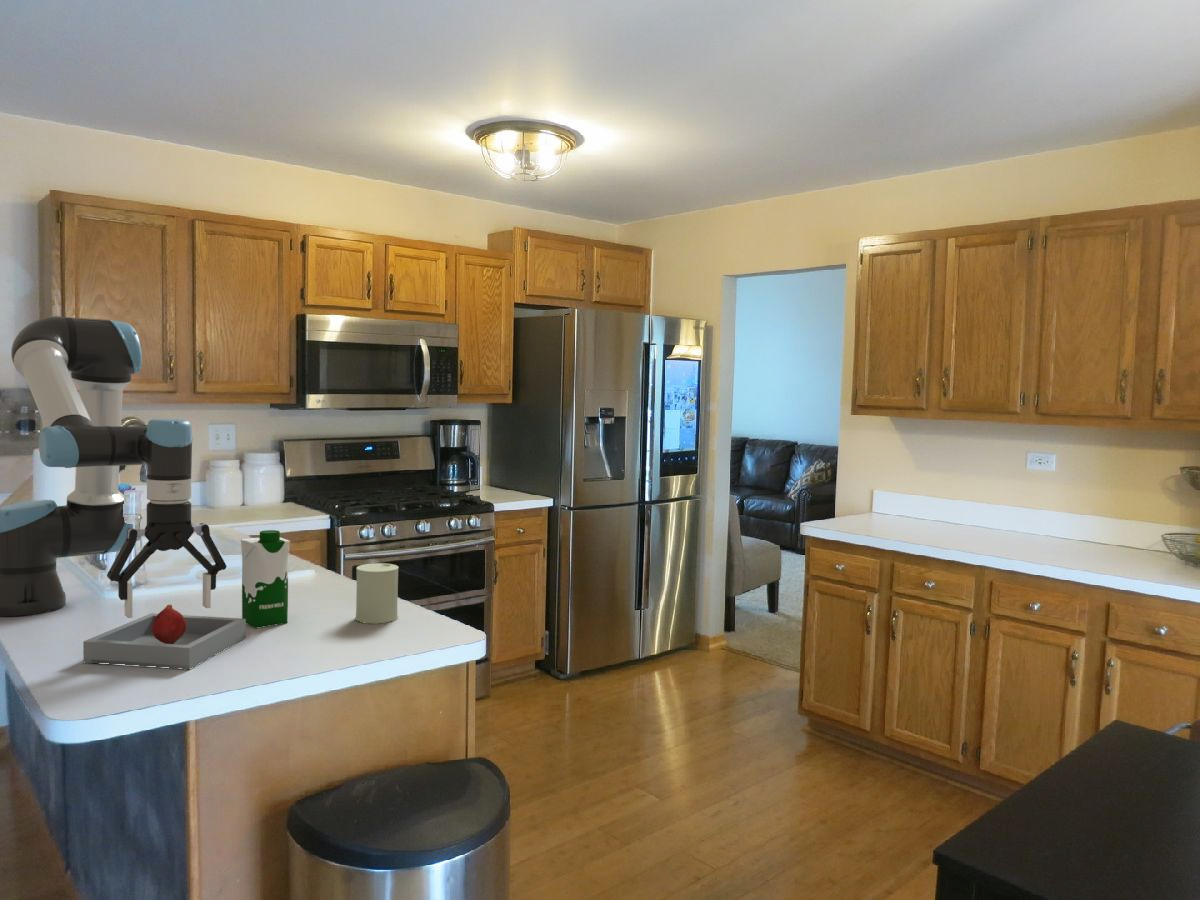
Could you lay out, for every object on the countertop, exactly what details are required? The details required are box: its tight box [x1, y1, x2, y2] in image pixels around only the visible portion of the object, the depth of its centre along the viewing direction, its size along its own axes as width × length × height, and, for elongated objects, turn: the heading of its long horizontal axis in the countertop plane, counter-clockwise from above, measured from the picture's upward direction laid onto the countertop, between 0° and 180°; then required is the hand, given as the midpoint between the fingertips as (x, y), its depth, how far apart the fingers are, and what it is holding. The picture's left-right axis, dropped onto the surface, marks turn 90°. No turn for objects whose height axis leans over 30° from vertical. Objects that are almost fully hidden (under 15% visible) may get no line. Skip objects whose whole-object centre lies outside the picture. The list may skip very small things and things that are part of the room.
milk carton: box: [240, 529, 291, 629], centre depth 183 cm, size 9×9×20 cm
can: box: [355, 562, 400, 624], centre depth 189 cm, size 9×9×12 cm
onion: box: [152, 603, 186, 644], centre depth 162 cm, size 6×6×8 cm
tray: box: [82, 612, 247, 670], centre depth 162 cm, size 20×20×4 cm
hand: (168, 611), depth 162 cm, fingers open, 13 cm apart
